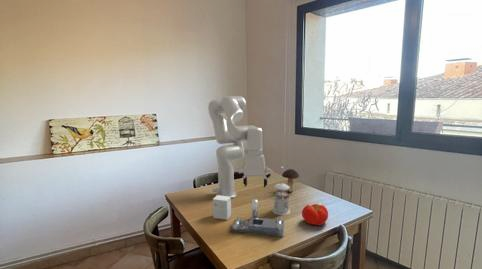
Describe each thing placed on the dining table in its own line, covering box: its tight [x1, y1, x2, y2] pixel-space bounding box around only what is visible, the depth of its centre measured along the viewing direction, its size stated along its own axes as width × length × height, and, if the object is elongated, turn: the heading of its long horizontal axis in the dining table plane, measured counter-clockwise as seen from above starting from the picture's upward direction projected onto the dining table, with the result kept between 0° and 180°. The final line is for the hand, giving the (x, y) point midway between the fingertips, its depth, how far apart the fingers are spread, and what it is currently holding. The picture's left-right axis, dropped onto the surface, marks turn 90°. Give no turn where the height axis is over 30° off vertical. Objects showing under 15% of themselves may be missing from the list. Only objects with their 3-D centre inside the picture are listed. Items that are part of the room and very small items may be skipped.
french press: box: [271, 166, 291, 216], centre depth 145 cm, size 10×12×25 cm
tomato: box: [301, 203, 329, 226], centre depth 132 cm, size 13×12×8 cm
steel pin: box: [251, 198, 259, 218], centre depth 137 cm, size 3×3×10 cm
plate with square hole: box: [230, 216, 285, 238], centre depth 126 cm, size 24×9×5 cm, turn 79°
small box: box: [212, 195, 232, 221], centre depth 139 cm, size 8×6×10 cm
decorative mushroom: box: [281, 168, 300, 193], centre depth 172 cm, size 11×11×15 cm
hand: (255, 186), depth 134 cm, fingers open, 9 cm apart
